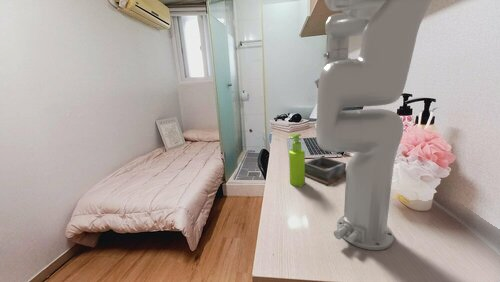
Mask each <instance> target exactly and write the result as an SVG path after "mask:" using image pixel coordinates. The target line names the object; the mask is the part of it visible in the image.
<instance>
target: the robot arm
mask: <svg viewBox="0 0 500 282" xmlns="http://www.w3.org/2000/svg"><path fill="white" fill-rule="evenodd" d="M432 1H433V0H324V3H325V6H326V7H327V8H328V10H329V11H332V12H339V13H334V14H331V15H330V16H328V18H327V20H326V21H325V25H324V27H325V28H324V30H325V34H326V35H327V49H326V50H327V51H326V53H324V54H323V58H326V60H325V63H324V67H323V68H322V70H321V72H320V75H319V78H317V79H316V80H315V81H314V84H315V86H316V88H317V107H316V122H315V123H316V124H315V125H316V127H315V138H316V139H315V140H316V143H317V145H318V147H319V148H320V149H321V150H322V151H324V152H329V153H330V152H331V153H343V152H344V153H346V152H347V153H354V154H353V155H352V157H351V158H350V159H349V161H348V163H347V164H346V177H345V186H344V187H345V191H344V211H343V212H344V213H343V216H341V217H340V218H338V220H337V223H336V230H334V231H333V236H334V237H335V239H337V240H341V239H342V238H343V239H344V240H345V241H346V242H348V243H350V244H352V245H353V246H355V247H357V248H361V249H364V250H369V251H381V250H385V249H388V248H390V247H391V246H392V244H393V243H394V233H393V231H392V230H391V228H390V227H389V226H388V218H389V211H390V210H389V209H390V201H391V192H392V191H391V190H392V183H393V182H392V181H393V174H394V168H395V167H394V166H395V160H396V156H397V153H398V150H399V148H400V144H401V141H402V138H403V135H404V121H403V119H402V117H401V116H400V115H399V114H398V113H396V112H395V111H392V110H390V109H383V108H367V109H364V108H363V109H354V110H353V109H350V110H344V108H357V107H358V108H361V107H377V106H385V105H391V104H394V103H395V102H397V101H398V100H399V99H400V98H401V96H402V94H403V92H404V91H405V87H406V83H407V80H408V75H409V71H410V68H411V62H412V59H413V54H414V50H415V45H416V41H417V36H418V32H419V31H420V30H419V29H420V26H421V24H422V22H423V19H424V18H425V15H426V13H427V11H428V9H429V6H430V5H431V3H432ZM356 36H357V37H358V36H361V43H360V51H359V55H358V56H357V58H353V59H352V58H350V57H349V48H350V46H349V45H350V44H349V43H350V37H356Z"/></svg>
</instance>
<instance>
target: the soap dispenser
mask: <svg viewBox="0 0 500 282" xmlns="http://www.w3.org/2000/svg"><path fill="white" fill-rule="evenodd" d="M301 136H302V135H301V133H293V134H291V135H289V136H288V139H291V140H292V139H293V140H294V141H293V142H292V143H291V144H292V145H291V146H292V148H291V150H289V152H288V158H289V160H288V163H289V183H290V185H291V186H294V187H301V186H304V185H305V184H306V177H305V162H306V160H305V159H306V157H305V155H306V152H305V150H303V149H302V142H301V141H300V137H301Z"/></svg>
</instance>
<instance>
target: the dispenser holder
mask: <svg viewBox="0 0 500 282" xmlns="http://www.w3.org/2000/svg"><path fill="white" fill-rule="evenodd" d="M346 168H347V163H346V162H342V161H338V160H335V159H332V158H328V157H325V156H322V155H321V156H319V157H316V158H313V159H310V160H307V161H305V178H307V179H309V180H311V181H315V182H318V183H320V184H322V185H324V186H330V185H331V184H334V183H336V182H338V181H340V180H342V179H346Z"/></svg>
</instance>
